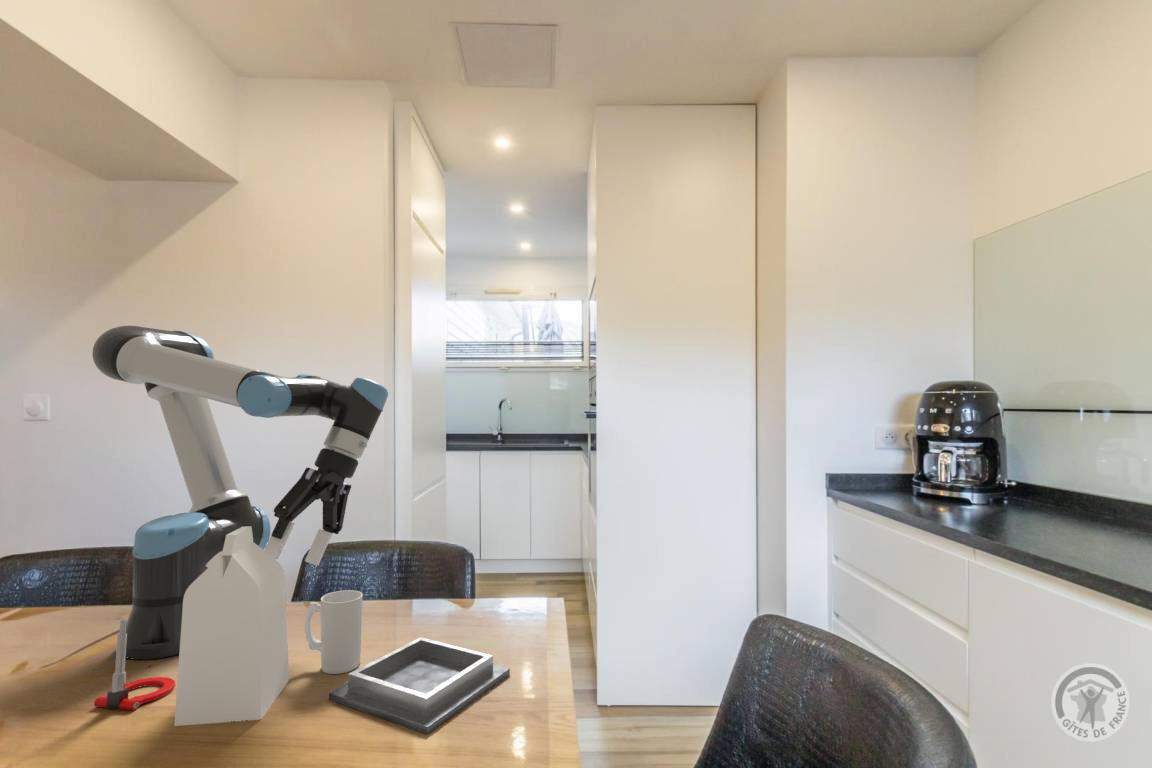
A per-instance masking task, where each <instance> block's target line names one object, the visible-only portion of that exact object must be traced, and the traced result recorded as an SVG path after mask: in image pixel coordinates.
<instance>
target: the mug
mask: <svg viewBox="0 0 1152 768" xmlns="http://www.w3.org/2000/svg"><path fill="white" fill-rule="evenodd" d="M363 596H364V595H363V593H362V591H359V590H356V589H355V590H353V589H348V590H347V589H346V590H345V589H344V590H338V591H332V592H328V593H326V594H324V595H322V596H321V598H320V603H319V602H318V601H317V602H316V601H315V602H314V601H311V602H309V606H308V609H307V610H306V613H305V615H304V619H303V631H304V636H305V639H306V642H307V645H308V647H309V649H310V651H311V650H313V651H319V652H320V660H321V667H320V668H321V671H322V672H323V673H325V674H328V675H341V674H345V673H348V672H349V673H350V672H353V671H355V670H356V669H358V667H359V666H360V664H361V653H362V651H361V650H362V623H363V621H362V620H363ZM315 613H320V640H319V639H316V637H315V636H314V634H313V631H312V628H311V621H312V617H313V615H314V614H315Z"/></svg>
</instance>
